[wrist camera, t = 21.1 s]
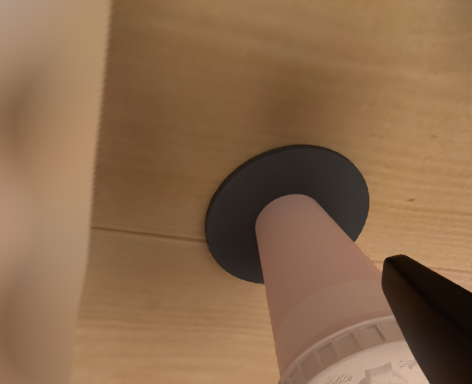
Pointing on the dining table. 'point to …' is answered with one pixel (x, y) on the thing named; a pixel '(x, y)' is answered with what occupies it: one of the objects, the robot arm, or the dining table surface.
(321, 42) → the dining table surface
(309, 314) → the smoothie
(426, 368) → the robot arm
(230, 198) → the coaster
